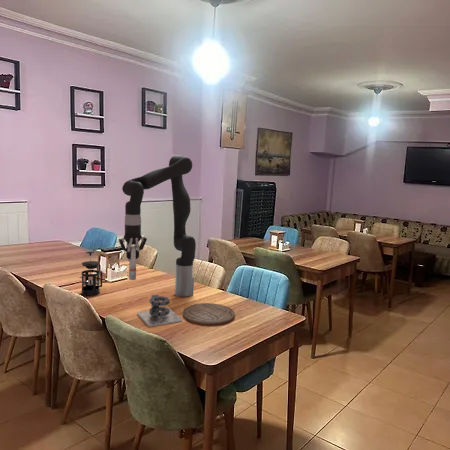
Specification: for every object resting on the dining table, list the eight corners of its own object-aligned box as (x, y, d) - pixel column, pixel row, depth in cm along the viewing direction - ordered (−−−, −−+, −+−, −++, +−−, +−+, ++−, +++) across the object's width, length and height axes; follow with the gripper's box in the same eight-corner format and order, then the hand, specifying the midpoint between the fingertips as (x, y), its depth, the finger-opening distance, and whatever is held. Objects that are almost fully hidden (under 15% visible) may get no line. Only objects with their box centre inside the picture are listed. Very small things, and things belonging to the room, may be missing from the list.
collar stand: (168, 309, 202) (169, 292, 200) (182, 321, 188) (182, 302, 186) (137, 314, 194) (137, 296, 192) (148, 327, 180) (149, 307, 178)
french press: (84, 298, 212) (84, 254, 208) (77, 293, 219) (76, 251, 215) (105, 293, 220) (105, 252, 216) (97, 289, 227) (97, 248, 223)
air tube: (134, 277, 200) (135, 245, 198) (137, 279, 197) (137, 247, 195) (128, 278, 199) (128, 246, 196) (130, 280, 196) (130, 247, 193)
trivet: (206, 303, 214) (207, 299, 214) (244, 316, 199) (245, 312, 199) (171, 315, 195) (172, 311, 195) (211, 331, 180) (211, 327, 179)
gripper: (144, 221, 200) (144, 255, 203) (115, 222, 193) (115, 258, 196) (149, 224, 194) (149, 259, 197) (120, 225, 187) (120, 262, 190)
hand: (132, 258), depth 196 cm, fingers closed on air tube, 3 cm apart
